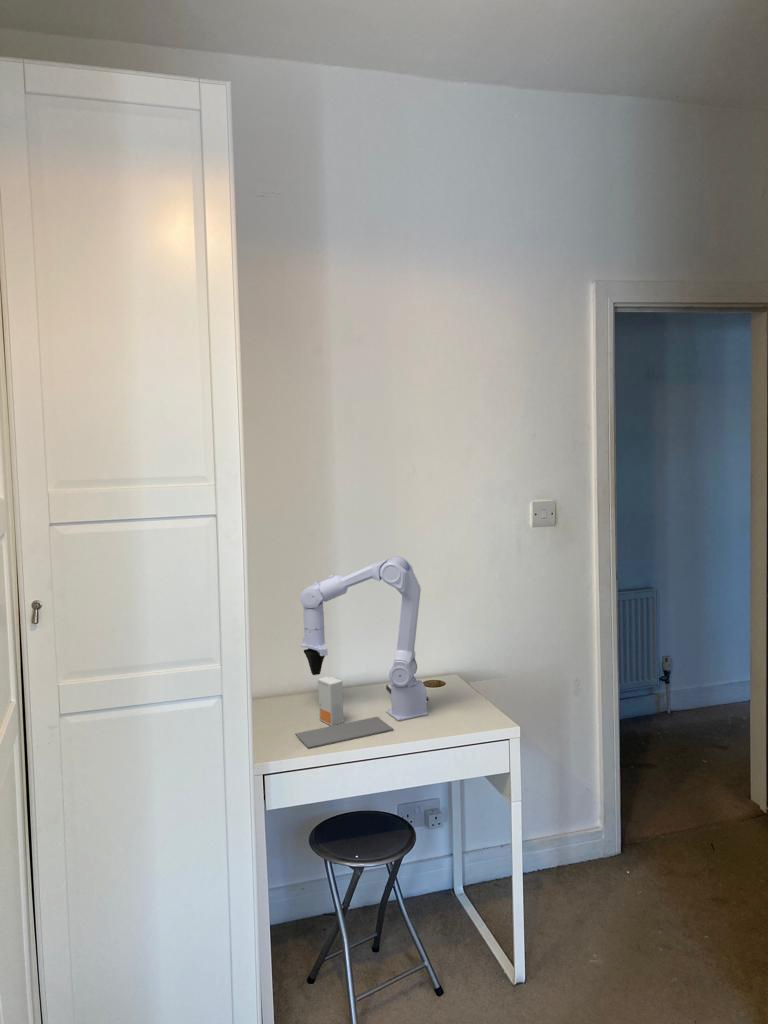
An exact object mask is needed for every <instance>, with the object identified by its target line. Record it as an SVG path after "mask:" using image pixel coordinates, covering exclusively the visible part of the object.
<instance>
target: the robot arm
mask: <svg viewBox="0 0 768 1024" xmlns="http://www.w3.org/2000/svg"><path fill="white" fill-rule="evenodd" d="M371 579H373V580H375V581H377V582H380V581H381V580H382V581H383V582H384V583H386V584H387V585H388V586H390V587H393V588H394V589H396V591H398V592H399V594H400V595H401V596H402V597H401V605H400V615H399V625H398V634H397V642H396V645H397V646H396V651H395V655H394V659H393V665H392V666H391V669H390V670H389V673H388V677H389V679H390V680H389V681H390V684H391V694H390V697H391V698H390V699H391V708H390V709H386V710H385V712H386V713H387V714H389V715H390V716H391V717H392V718H394V719H395V720H397V721H398V722H399V721H404V720H409V719H413V718H417V717H418V718H419V717H423V716H427V715H429V712H428V710H427V702H426V696H427V689H426V685H425V684H424V682H423V681H422V680H417V679H416V677H415V674H416V672H417V670H418V663H417V660H416V651H415V648H416V647H415V646H416V645H415V644H416V638H417V629H418V621H419V620H418V619H419V618H418V617H419V609H420V602H421V601H420V599H421V591H422V589H421V588H422V587H421V585H420V583H419V581H418V579H417V577H416V574H415V573H414V569H413V565H412V564H411V563H410V562H409V561H408V560H406V559H405V558H404V557H402V556H398V555H395V556H393V557H391V558H390V559H389V558H386V559H383V560H379V561H377V562H376V561H375V562H374V563H373V562H372V564H369V565H367V566H365V567H363V568H361V569H358V570H356V571H354V572H352V573H350V574H348V575H346V576H343V575H340V574H336V575H335V574H333V573H332V574H330V575H329V576H328V578H327V579H325V580H322V581H316V582H314V583H313V584H311V585H310V586H307V587H306V588H305V589H304V590H303V591H302V592H301V593H300V596H299V599H300V603H301V605H302V606H303V607H302V608H303V630H304V631H303V634H304V636H303V637H302V643H300V647H301V648H302V649H303V653H304V654H305V657H306V659H307V661H308V665H309V669H310V672H311V674H312V676H317V675H318V676H319V675H321V671H322V666H323V663H324V659H325V657H326V656H328V655H329V654H328V648H327V644H326V643H327V642H326V639H325V615H324V613H325V612H324V602H328V601H331V600H333V599H336V598H338V597H340V596H343V595H345V594H346V593H348V589H349V588H350V587H352V586H356V585H358V584H361V583H364V582H366V581H369V580H371ZM304 648H306V649H304Z"/></svg>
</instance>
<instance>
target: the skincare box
mask: <svg viewBox="0 0 768 1024" xmlns="http://www.w3.org/2000/svg"><path fill="white" fill-rule="evenodd" d="M317 683H318V684H317V687H318V690H317V691H318V709H319V710H318V711H319V712H318V713H319V714H318V715H319V717H318V718H319V721H320V722H323V723H325V724H326V723H327V725H328V724H329V726H334V725H337V724H338V725H339V724H340V723H341V724H344V722H345V721H344V719H345V718H344V694H343V680H341V679H338V678H336V677H333V676H331V675H328V676H323V677H321V678H318V679H317Z"/></svg>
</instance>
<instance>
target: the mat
mask: <svg viewBox="0 0 768 1024" xmlns="http://www.w3.org/2000/svg"><path fill="white" fill-rule="evenodd" d="M393 731H394V728H393V727H392V726H390V725H389V724H388V723H386V722H385V721H384V720H382V719H381V718H379V717H378V716H374V717H368V718H363V719H360V720H359V719H358V720H355V721H354V720H353V721H349V722H345V723H344V722H343V723H341V724H338V725H334V726H330V725H329V726H325V727H324V726H323V727H319V728H315V729H311V730H306V731H301V732H296V733H294V736H295V735H296V736H297V737H298V738H299V739H298V738H297V737H296V736H295V737H296V738H297V739H298V741H299V742H300V743H302V744H303V745H304V747H305V748H307V750H310V749H317V748H320V747H323V746H329V745H334V744H338V743H344V742H349V741H352V740H356V739H360V738H361V739H362V738H366V737H370V736H376V735H379V733H380V734H385V733H389V732H393ZM375 734H376V735H375Z"/></svg>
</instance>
